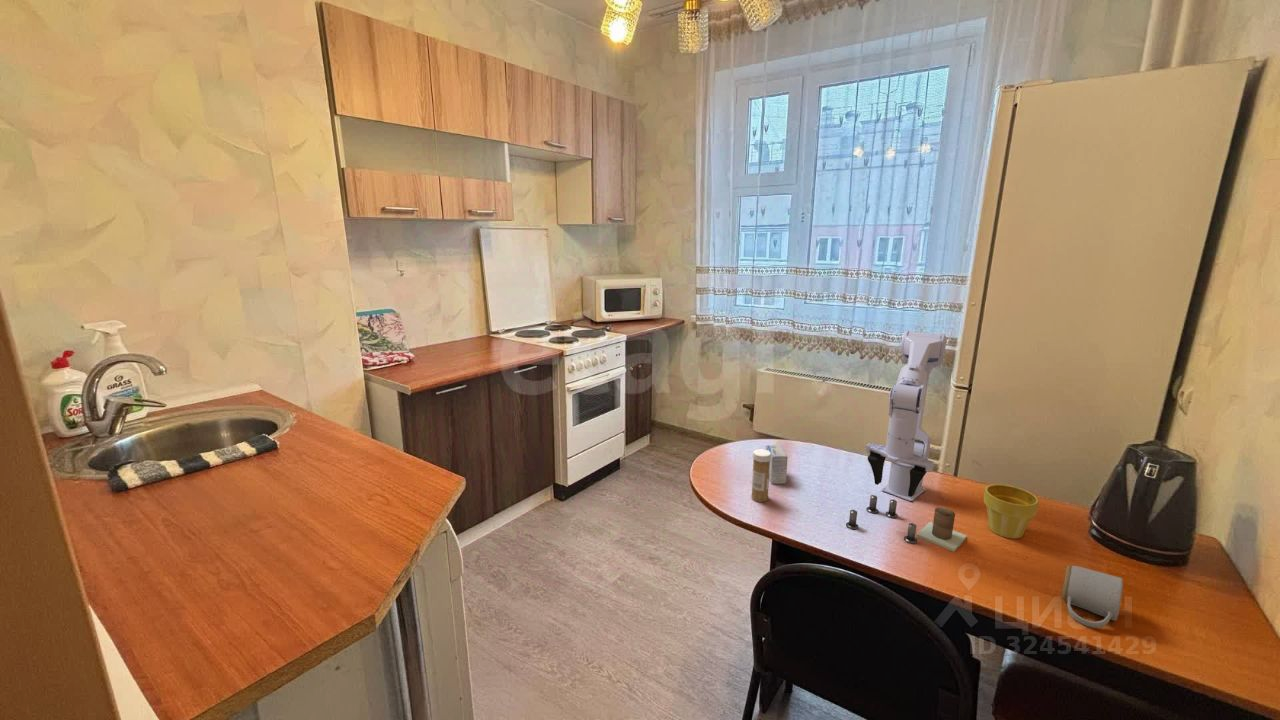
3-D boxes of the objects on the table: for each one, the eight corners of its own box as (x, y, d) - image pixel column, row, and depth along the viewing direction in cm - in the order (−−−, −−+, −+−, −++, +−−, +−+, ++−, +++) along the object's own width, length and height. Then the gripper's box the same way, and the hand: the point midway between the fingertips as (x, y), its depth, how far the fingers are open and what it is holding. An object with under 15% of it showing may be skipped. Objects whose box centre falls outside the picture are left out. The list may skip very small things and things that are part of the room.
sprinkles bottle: (771, 499, 136) (774, 453, 133) (759, 504, 134) (762, 457, 130) (759, 492, 140) (761, 447, 136) (747, 497, 137) (749, 451, 134)
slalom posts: (872, 504, 133) (873, 490, 132) (931, 528, 122) (934, 513, 121) (843, 526, 124) (845, 511, 123) (905, 553, 113) (908, 537, 112)
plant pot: (968, 520, 126) (974, 484, 123) (1007, 517, 127) (1014, 482, 124) (1001, 545, 116) (1008, 506, 113) (1043, 542, 117) (1051, 504, 114)
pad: (929, 523, 124) (930, 521, 124) (966, 537, 119) (966, 535, 118) (916, 536, 119) (916, 534, 119) (954, 551, 113) (954, 549, 113)
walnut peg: (935, 527, 122) (938, 505, 120) (954, 535, 119) (958, 512, 117) (928, 534, 119) (932, 511, 117) (948, 542, 116) (951, 518, 114)
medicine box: (786, 484, 144) (788, 456, 142) (770, 484, 144) (772, 456, 142) (779, 471, 152) (781, 444, 149) (764, 471, 152) (765, 444, 149)
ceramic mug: (1061, 587, 102) (1069, 554, 100) (1116, 606, 97) (1125, 572, 95) (1056, 617, 95) (1065, 582, 93) (1116, 639, 89) (1126, 603, 87)
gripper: (862, 431, 119) (856, 483, 123) (928, 450, 109) (920, 506, 112) (875, 423, 124) (869, 474, 127) (940, 441, 113) (932, 495, 117)
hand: (894, 488), depth 120 cm, fingers open, 7 cm apart
